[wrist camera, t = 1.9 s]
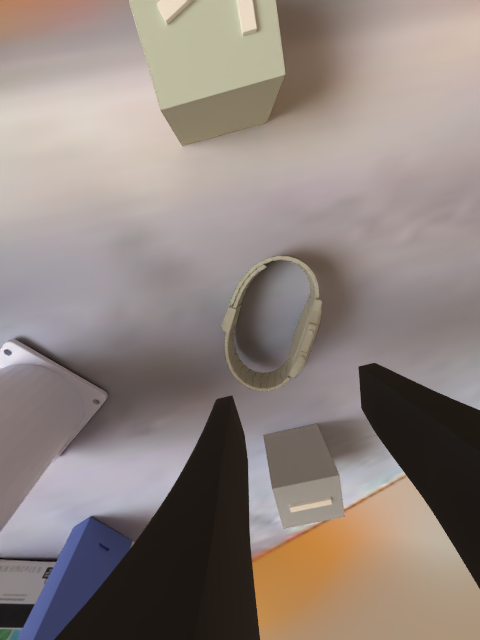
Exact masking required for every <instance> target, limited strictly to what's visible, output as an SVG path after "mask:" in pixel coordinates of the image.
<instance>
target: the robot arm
mask: <svg viewBox="0 0 480 640" xmlns="http://www.w3.org/2000/svg"><path fill="white" fill-rule="evenodd" d="M9 350H10V351H11V352H12V353H11V352H10V351H9ZM359 379H360V393H361V408H362V410H363V412H364V414H365V415H366V417H367V419H368V421H369V422H370V424H371V426H372V428H373V429H374V431H375V433H376V434H377V436H378V437H379V438H380V440H381V441H382V443H383V444H384V445H385V447H386V448H387V449H388V451H389V452H390V453H391V455H392V456H393V458H394V459H395V460H396V462H397V463H398V464H399V466H400V467H401V468H402V470H403V471H404V472H405V474H406V475H407V476H408V478H409V479H410V481H411V482H412V483H413V484H414V486H415V487H416V489H417V490H418V491H419V493H420V494H421V495H422V497H423V498H424V500H425V501H426V503H427V504H428V505H429V507H430V508H431V510H432V511H433V513H434V515H435V516H436V518H437V519H438V521H439V523H440V524H441V526H442V527H443V529H444V531H445V532H446V534H447V536H448V537H449V539H450V540H451V542H452V543H453V545H454V547H455V548H456V550H457V552H458V553H459V555H460V557H461V558H462V560H463V562H464V563H465V565H466V567H467V568H468V570H469V572H470V573H471V575H472V577H473V578H474V580H475V582H476V583H477V585H478V587H479V588H480V410H478V409H475V408H473V407H470V406H468V405H466V404H463V403H461V402H458V401H456V400H453V399H451V398H449V397H447V396H444V395H442V394H440V393H438V392H435V391H433V390H431V389H429V388H427V387H425V386H422V385H420V384H418V383H416V382H414V381H412V380H410V379H408V378H406V377H403V376H401V375H399V374H397V373H395V372H393V371H391V370H389V369H387V368H385V367H383V366H380V365H378V364H376V363H372V364H368V365H364V366H359ZM107 397H108V394H107V393H106V392H105V391H104V390H102V389H100V388H98V387H97V386H95V385H93V384H91V383H90V382H88V381H86V380H85V379H83V378H81V377H79V376H78V375H76V374H74V373H72V372H71V371H69V370H67V369H66V368H64V367H62V366H60V365H59V364H57V363H55V362H53V361H52V360H50V359H48V358H47V357H45V356H43V355H41V354H40V353H38V352H36V351H34V350H33V349H31V348H29V347H28V346H26V345H24V344H22V343H21V342H19V341H17V340H14V339H11V340H8V341H7V342H5V343H4V345H3V346H2V348H1V349H0V532H1V530H2V529H3V528H4V526H5V525H6V524H7V522H8V521H9V519H10V518H11V517H12V515H13V514H14V513H15V511H16V510H17V509H18V507H19V506H20V504H21V503H22V502H23V500H24V499H25V498H26V496H27V495H28V494H29V492H30V491H31V489H32V488H33V487H34V485H35V484H36V483H37V481H38V480H39V479H40V477H41V476H42V474H43V473H44V472H45V470H46V469H47V468H48V466H49V465H50V464H51V462H54V461H55V460H56V459H57V458H58V457H59V456H60V454H61V453H62V452H63V451H64V450H65V448H66V447H67V446H68V445H69V444H70V442H71V441H72V440H73V439H74V438H75V436H76V435H77V434H78V433H79V432H80V430H81V429H82V428H83V427H84V426H85V425H86V423H87V422H88V421H89V420H90V419H91V417H92V416H93V415H94V414H95V413H96V411H97V410H98V409H99V408H100V407H101V405H102V404H103V403H104V402H105V401H106V399H107ZM96 399H97V400H99V401H97V400H96ZM54 640H260V635H259V626H258V617H257V608H256V598H255V589H254V579H253V569H252V559H251V548H250V532H249V489H248V459H247V450H246V443H245V435H244V431H243V428H242V425H241V422H240V418H239V415H238V412H237V409H236V406H235V403H234V399H233V396H228V397H224V398H219V399H217V400H216V402H215V404H214V406H213V409H212V411H211V414H210V416H209V418H208V421H207V423H206V425H205V427H204V430H203V432H202V434H201V436H200V438H199V440H198V442H197V444H196V446H195V448H194V450H193V452H192V454H191V456H190V458H189V460H188V461H187V463H186V465H185V467H184V469H183V471H182V472H181V474H180V476H179V477H178V479H177V481H176V483H175V484H174V486H173V487H172V489H171V491H170V492H169V494H168V495H167V497H166V499H165V500H164V502H163V503H162V505H161V506H160V508H159V509H158V511H157V512H156V513H155V515H154V516H153V518H152V519H151V521H150V522H149V524H148V525H147V526H146V528H145V529H144V531H143V532H142V533H141V535H140V536H139V538H138V539H137V540H136V542H135V543H134V544H133V546H132V547H131V548H130V549H129V551H128V552H127V553H126V555H125V556H124V557H123V558H122V560H121V561H120V562H119V563H118V565H117V566H116V567H115V568H114V570H113V571H112V572H111V573H110V575H109V576H108V577H107V579H106V580H105V581H104V582H103V584H102V585H101V586H100V587H99V588H98V590H97V591H96V592H95V593H94V594H93V596H92V597H91V598H90V599H89V600H88V602H87V603H86V604H85V605H84V606H83V607H82V608H81V610H80V611H79V612H78V613H77V614H76V615H75V616H74V617H73V619H72V620H71V621H70V622H69V623H68V624H67V625H66V626H65V628H64V629H63V630H62V631H61V632H60V633H59V634H58V636H57V637H56V638H55V639H54Z"/></svg>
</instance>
